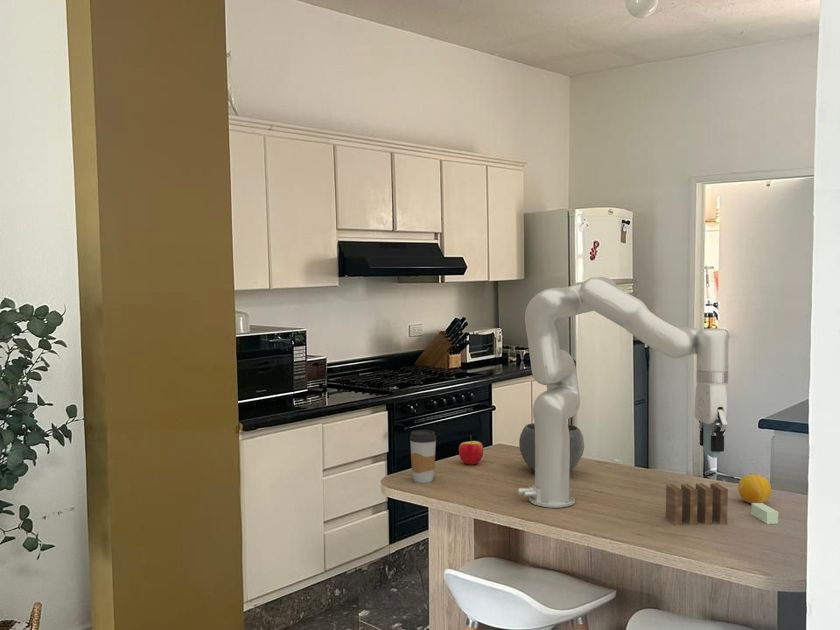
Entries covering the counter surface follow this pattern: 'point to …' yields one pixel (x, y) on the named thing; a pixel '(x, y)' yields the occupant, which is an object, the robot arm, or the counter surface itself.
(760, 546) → the counter surface
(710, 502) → the domino
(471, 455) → the apple
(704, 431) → the domino
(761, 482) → the fruit
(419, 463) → the coffee cup
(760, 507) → the block
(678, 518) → the domino
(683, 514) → the domino
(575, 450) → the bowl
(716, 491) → the domino
